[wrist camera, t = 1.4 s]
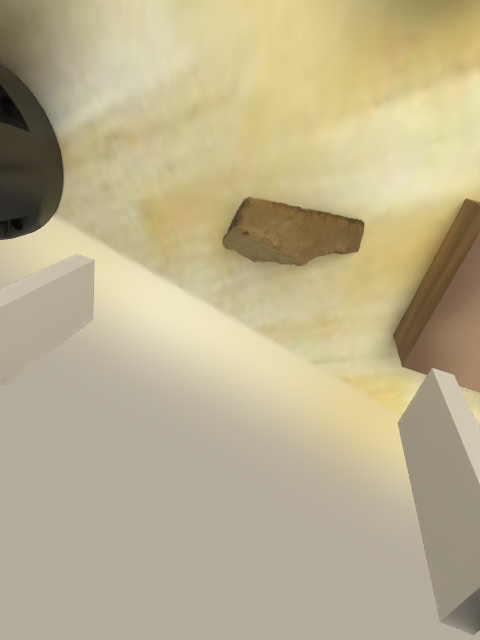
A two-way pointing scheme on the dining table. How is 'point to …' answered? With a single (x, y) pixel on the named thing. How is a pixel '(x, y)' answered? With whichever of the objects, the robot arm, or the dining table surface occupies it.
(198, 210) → the dining table surface
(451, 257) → the walnut block
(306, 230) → the rock
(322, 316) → the dining table surface
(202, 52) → the dining table surface
